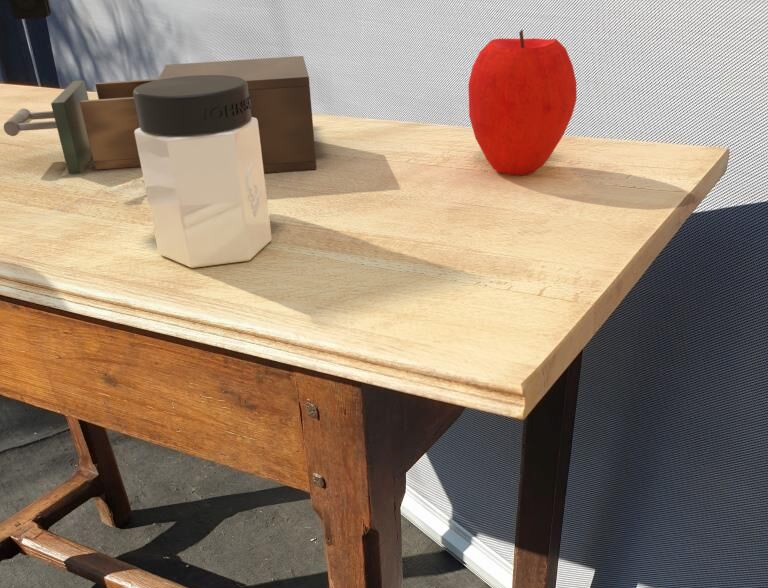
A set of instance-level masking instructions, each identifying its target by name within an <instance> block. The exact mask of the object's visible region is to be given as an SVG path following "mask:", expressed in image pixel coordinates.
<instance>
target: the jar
mask: <svg viewBox="0 0 768 588" xmlns="http://www.w3.org/2000/svg"><path fill="white" fill-rule="evenodd" d="M133 96H134V101H135V106H136V111H137V116H138V121H139V126H140V128H138V129H136V130H135V131H134V133H135V138H136V143H137V148H138V153H139V158H140V163H141V172H142V173H141V174H142V177H143V178H142V179H143V182H144V189H145V193H146V197H147V202H148V207H149V213H150V218H151V223H152V226H153V233H154V238H155V243H156V248H157V252H158V254H159V255H160V256H162V257H165V258H167V259H170V260H172V261H174V262H177V263H179V264H181V265H184V266H185V267H189V268H190V269H195V268H203V267H211V266H219V265H226V264H233V263H242V262H248V261H249V262H250V261H251V259H253V258H254V257H255V256H256V255H257V254H259V252H261V250H262V249H263V248H265V247H266V246H267V245H268V244H269V243H270V242H271V241H272V239H273V236H272V230H271V222H270V221H271V220H270V212H269V204H268V195H267V188H266V187H267V186H266V179H265V173H264V169H263V161H262V153H261V144H260V136H259V127H258V120H257V118H254V117H251V109H250V107H251V100H250V94H249V92H248V84H247V82H246V81H245V80H244V79H242V78H239V77H235V76H226V75H195V76H182V77H174V78H167V79H161V80H156V81H152V82H148V83H145V84H142V85H140V86H138V87H136V88H135V89H134V91H133Z"/></svg>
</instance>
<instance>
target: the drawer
mask: <svg viewBox="0 0 768 588" xmlns="http://www.w3.org/2000/svg"><path fill="white" fill-rule="evenodd" d="M156 80H158V78H150V79H135V80H120V81H104V82H96V83H95V89H96V94H97V99H89V95H88V90H87V86H86V82H85V80H73V81H72V82H71V83H70V84H69V85H68V86H67V87H66V88H65V89H64V90H62V92H61V93H60V94H59V95H58V96H56V98H55V99H53V100H52V102H51V103H50V106H51V109H52V110H50V111H49V110H48V111H34V112H31V111H30V110H29V109H27V108H20V109H18V110H17V112H15V113H14V114H13V115H12V116H11V117H9V119H8V120H6V122H4V124H3V131H4V132H5V134H6V135H8V136H10V137H15V136H17V135H18V134H19V133H21V132H22V131H24V132H25V131H38V130H50V129H51V130H52V129H53V130H54V129H56V130H57V134H58V137H59V141H60V145H61V149H62V154H63V158H64V162H65V165H66V169H67V173H68V175H76V174H77V175H79V174H82V173H83V171H84V169H85V168H86V166H87V165H88V164H89V162H90V160H91V158H92V161H93V165H94V170H96V171H101V170H113V169H125V168H126V169H127V168H139V167H141V163H140V158H139V153H138V148H137V143H136V138H135V133H134V131H135V130H136V129H138V128H140V126H139V121H138V116H137V111H136V106H135V101H134V96H133V91H134V89H135V88H136V87H138V86H140V85H142V84H145V83H148V82H152V81H156ZM49 119H54V120H49ZM32 120H35V122H32ZM36 120H46V121H36ZM47 120H49V121H47Z"/></svg>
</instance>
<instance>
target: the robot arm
mask: <svg viewBox="0 0 768 588" xmlns="http://www.w3.org/2000/svg"><path fill="white" fill-rule="evenodd" d="M7 1H8V5H9V8H10V13H11V16H12V18H14V19H15V20H31V19H45V18H47V17H49V16H51V14H52V10H51V5H50V0H7Z"/></svg>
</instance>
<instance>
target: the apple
mask: <svg viewBox="0 0 768 588" xmlns="http://www.w3.org/2000/svg"><path fill="white" fill-rule="evenodd" d="M575 74H576V73H575V70H574V66H573V63H572V61H571V58H570V55H569V53H568V51H567V48H566V47H565V46H564V45H563V44H562V43H561V42H560V41H559V40H558V39H557V38H549V39H547V38H546V39H545V38H524V29H521V30H520V31H519V38H493V39H491V40H490V41H489V42H488V43H487V44H486V45H485V46H484V47H483V48H482V49H481V50H480V51H479V53H478V55H477V56H476V59H475V61H474V63H473V64H472V67H471V72H470V76H469V80H468V87H467V89H468V116H469V119H470V123H471V127H472V131H473V134H474V138H475V140H476V142H477V144H478V146H479V147H480V150H481V152H482V153H483V155H484V157H485V159H486V161H487V162H488V163H489V165H490V166H491V168H492V169H493V170H494V171H496V172H498V173H500V174H503V175H511V176H524V175H525V176H526V175H530V174H534V173H535V171H537V170H539V169H540V168H542V167H543V166H544V165H545V163H546V162H547V161H548V160H549V159H550V158H551V156H552V154H553V152H554V150H555V149H556V148H557V146H558V144H559V143H560V141H561V139H562V138H563V137H564V135H565V132H566V130H567V128H568V127H569V124H570V121H571V119H572V117H573V115H574V114H573V113H574V110H575V107H576V103H577V93H578V92H577V91H578V90H577V79H576V75H575Z"/></svg>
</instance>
